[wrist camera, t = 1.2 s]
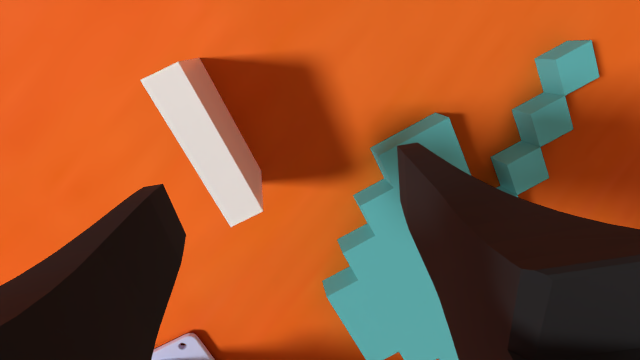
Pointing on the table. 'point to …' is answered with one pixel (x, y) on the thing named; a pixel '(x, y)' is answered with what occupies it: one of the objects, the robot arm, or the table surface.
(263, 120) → the table surface
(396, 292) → the alien figure
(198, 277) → the table surface
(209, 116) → the tile
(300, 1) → the table surface
